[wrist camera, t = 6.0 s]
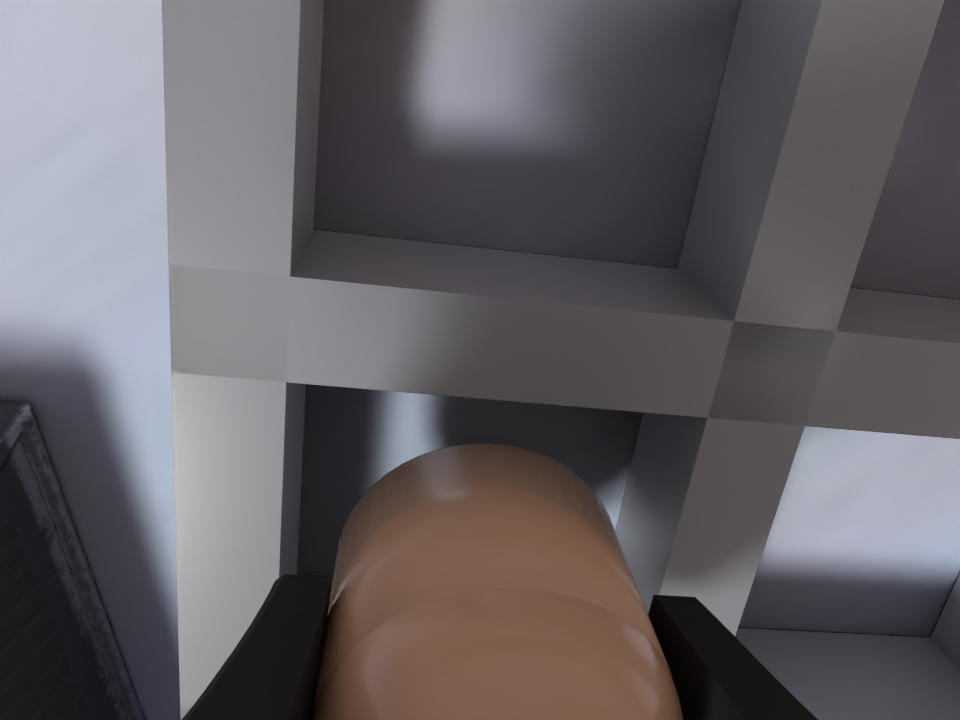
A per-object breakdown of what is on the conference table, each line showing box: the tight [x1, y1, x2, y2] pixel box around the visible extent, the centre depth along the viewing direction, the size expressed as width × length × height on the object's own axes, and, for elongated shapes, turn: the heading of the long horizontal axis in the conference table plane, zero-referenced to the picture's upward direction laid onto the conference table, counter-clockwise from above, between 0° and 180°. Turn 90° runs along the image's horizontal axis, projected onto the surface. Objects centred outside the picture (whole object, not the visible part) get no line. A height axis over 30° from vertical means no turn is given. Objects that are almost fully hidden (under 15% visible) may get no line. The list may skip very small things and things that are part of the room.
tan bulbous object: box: [312, 443, 684, 720], centre depth 10 cm, size 4×4×5 cm
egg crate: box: [162, 0, 960, 720], centre depth 14 cm, size 24×16×2 cm
